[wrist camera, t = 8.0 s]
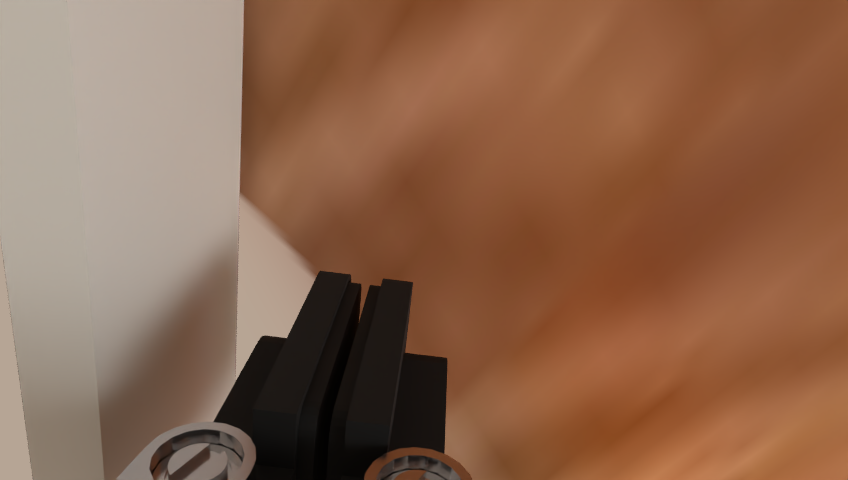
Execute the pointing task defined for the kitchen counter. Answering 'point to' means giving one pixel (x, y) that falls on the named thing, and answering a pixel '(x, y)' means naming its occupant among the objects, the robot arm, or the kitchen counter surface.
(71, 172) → the side door
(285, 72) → the kitchen counter surface
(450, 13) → the kitchen counter surface
